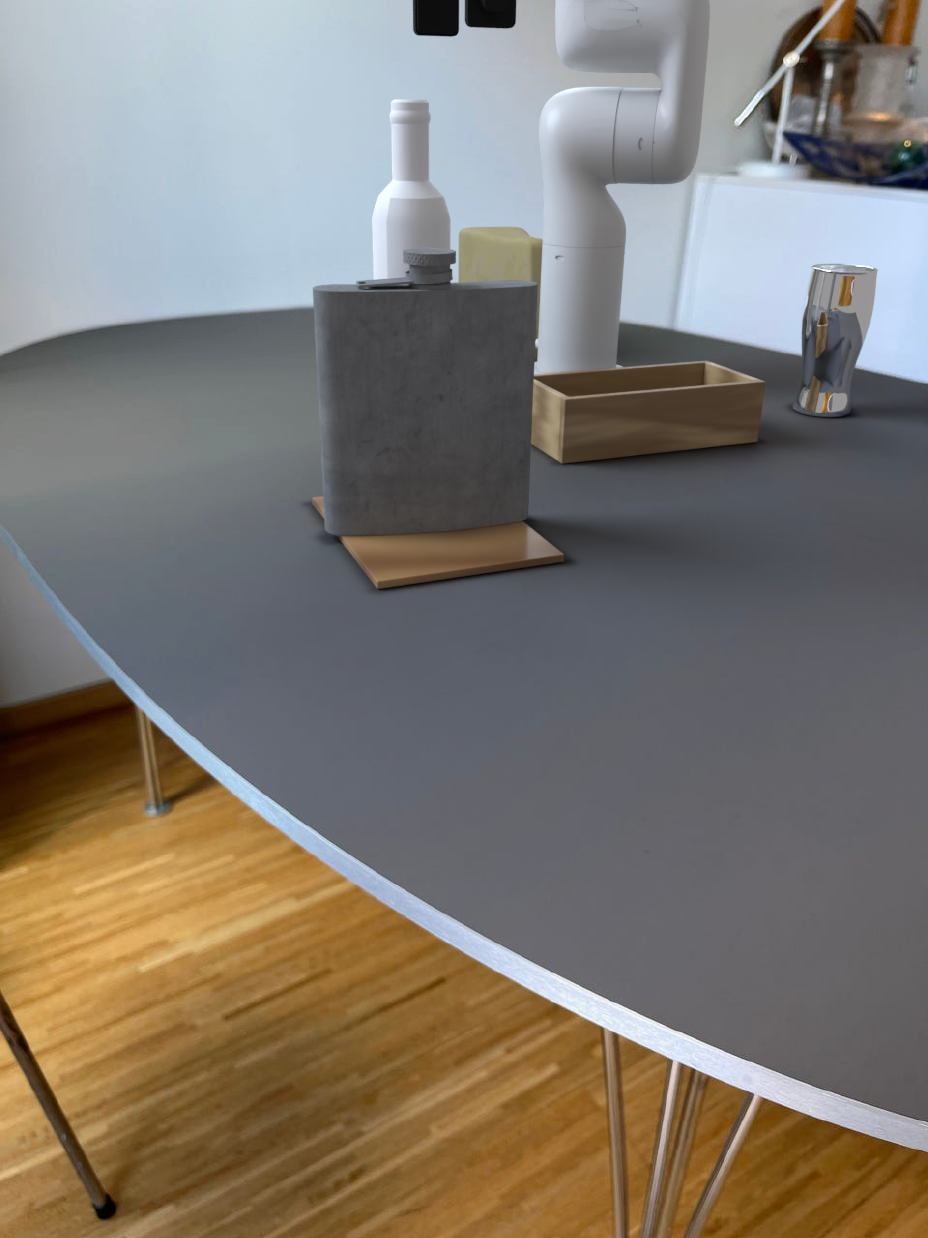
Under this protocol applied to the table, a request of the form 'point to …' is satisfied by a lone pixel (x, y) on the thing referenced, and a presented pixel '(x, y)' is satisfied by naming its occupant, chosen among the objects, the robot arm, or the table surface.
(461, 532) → the wooden mat
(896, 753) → the table surface
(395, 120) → the bottle
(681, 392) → the box
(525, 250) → the cheese
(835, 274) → the beer glass
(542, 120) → the robot arm
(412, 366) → the hip flask
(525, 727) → the table surface
